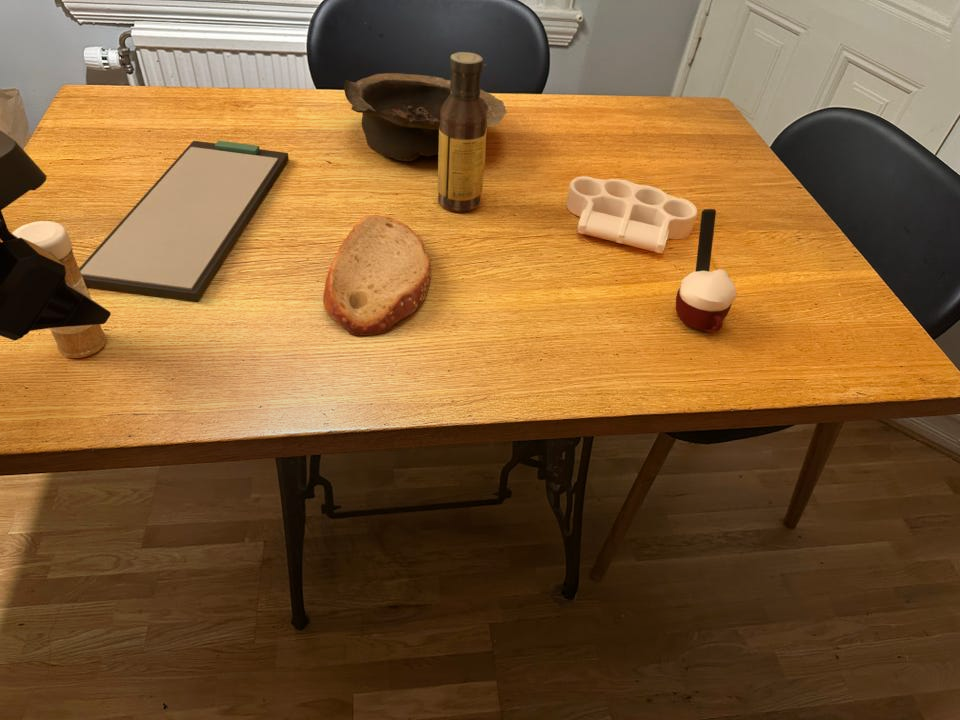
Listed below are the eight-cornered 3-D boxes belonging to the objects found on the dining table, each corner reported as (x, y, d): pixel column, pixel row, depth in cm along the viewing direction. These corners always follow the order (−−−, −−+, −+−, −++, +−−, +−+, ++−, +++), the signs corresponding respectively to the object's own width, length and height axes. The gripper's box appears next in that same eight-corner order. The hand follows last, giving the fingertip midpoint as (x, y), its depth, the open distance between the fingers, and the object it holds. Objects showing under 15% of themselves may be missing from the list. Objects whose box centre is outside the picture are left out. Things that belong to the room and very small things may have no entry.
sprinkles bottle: (98, 325, 73) (57, 213, 64) (113, 349, 71) (73, 237, 62) (51, 341, 71) (1, 228, 62) (65, 366, 68) (15, 253, 59)
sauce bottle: (489, 202, 99) (505, 59, 85) (462, 219, 95) (475, 71, 81) (453, 186, 101) (464, 44, 87) (426, 202, 97) (432, 55, 84)
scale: (198, 302, 77) (194, 287, 76) (73, 285, 77) (68, 271, 76) (289, 160, 102) (287, 147, 101) (194, 148, 102) (192, 135, 101)
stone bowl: (345, 177, 99) (341, 112, 93) (347, 115, 118) (345, 57, 113) (515, 178, 103) (522, 116, 97) (491, 117, 122) (495, 62, 116)
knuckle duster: (552, 233, 94) (574, 184, 105) (684, 266, 91) (694, 213, 102) (556, 211, 92) (578, 164, 102) (692, 245, 89) (701, 192, 99)
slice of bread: (385, 220, 93) (385, 195, 90) (478, 285, 84) (481, 259, 82) (266, 268, 83) (262, 241, 80) (358, 347, 74) (357, 321, 72)
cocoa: (722, 349, 80) (761, 262, 71) (668, 337, 80) (699, 250, 72) (721, 300, 86) (756, 216, 78) (670, 289, 87) (700, 205, 79)
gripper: (-15, 139, 41) (191, 255, 54) (-103, 72, 51) (89, 184, 64) (-122, 297, 41) (112, 376, 54) (-191, 198, 51) (21, 285, 64)
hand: (83, 296), depth 59 cm, fingers open, 9 cm apart
